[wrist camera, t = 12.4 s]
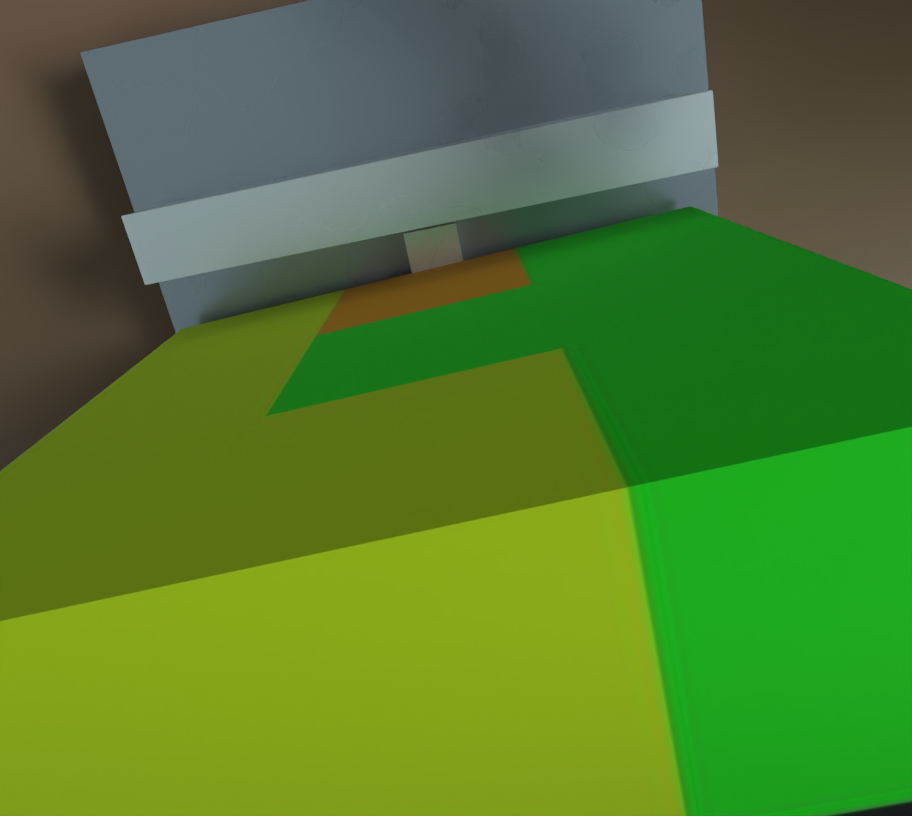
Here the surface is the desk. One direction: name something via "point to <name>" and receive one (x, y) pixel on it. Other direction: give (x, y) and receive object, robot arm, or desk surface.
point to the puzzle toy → (483, 548)
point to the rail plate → (397, 138)
